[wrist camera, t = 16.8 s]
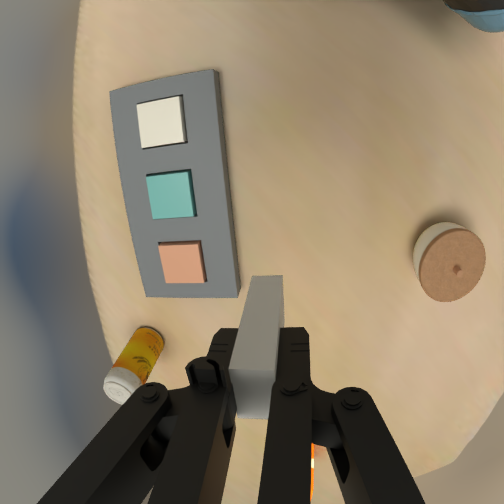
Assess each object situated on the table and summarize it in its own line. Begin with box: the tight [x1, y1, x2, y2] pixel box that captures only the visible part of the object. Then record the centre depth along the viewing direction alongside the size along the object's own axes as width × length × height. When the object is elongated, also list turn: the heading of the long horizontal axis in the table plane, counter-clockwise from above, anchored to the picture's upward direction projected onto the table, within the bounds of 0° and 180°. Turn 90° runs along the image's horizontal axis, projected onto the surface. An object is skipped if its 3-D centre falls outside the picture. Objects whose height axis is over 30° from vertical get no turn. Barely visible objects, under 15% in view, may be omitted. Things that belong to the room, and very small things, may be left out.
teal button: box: [146, 169, 197, 219], centre depth 43 cm, size 6×6×3 cm
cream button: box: [137, 96, 188, 148], centre depth 39 cm, size 6×6×3 cm
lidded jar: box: [413, 222, 486, 302], centre depth 39 cm, size 11×11×9 cm
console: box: [109, 69, 241, 298], centre depth 44 cm, size 32×15×3 cm, turn 5°
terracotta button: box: [158, 240, 207, 283], centre depth 47 cm, size 6×6×3 cm
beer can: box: [103, 328, 164, 405], centre depth 50 cm, size 6×6×15 cm
